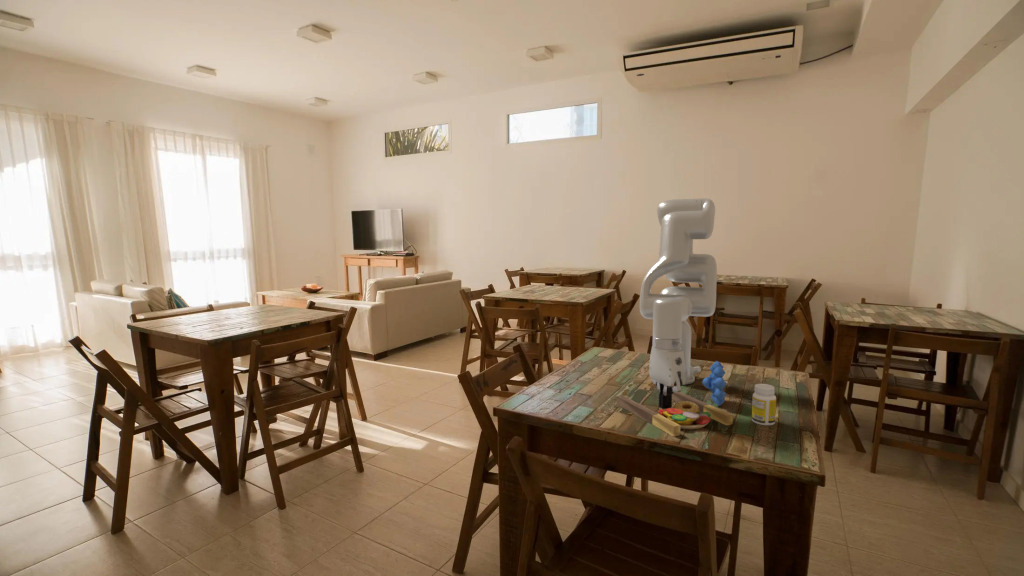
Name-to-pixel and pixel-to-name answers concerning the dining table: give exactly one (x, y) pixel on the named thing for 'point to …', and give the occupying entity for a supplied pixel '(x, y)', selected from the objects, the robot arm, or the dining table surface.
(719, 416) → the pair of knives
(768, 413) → the supplement bottle
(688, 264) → the robot arm
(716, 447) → the dining table surface
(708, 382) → the grapes
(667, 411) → the toy food set
